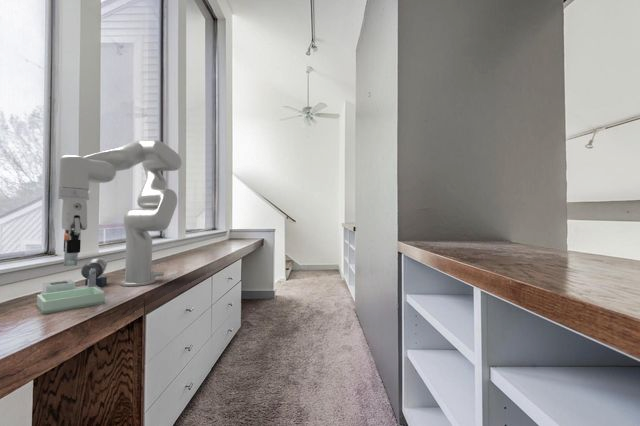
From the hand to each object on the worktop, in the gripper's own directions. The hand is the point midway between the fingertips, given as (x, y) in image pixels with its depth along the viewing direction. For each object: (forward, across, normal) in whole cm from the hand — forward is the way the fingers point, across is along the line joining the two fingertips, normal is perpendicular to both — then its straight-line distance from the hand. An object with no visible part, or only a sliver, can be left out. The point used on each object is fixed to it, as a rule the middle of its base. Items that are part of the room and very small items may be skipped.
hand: (71, 251), depth 92 cm
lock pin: (+4, 0, 0) cm, 4 cm away
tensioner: (+17, +14, -3) cm, 22 cm away
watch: (+17, +25, -12) cm, 33 cm away
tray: (+17, 0, 0) cm, 17 cm away
